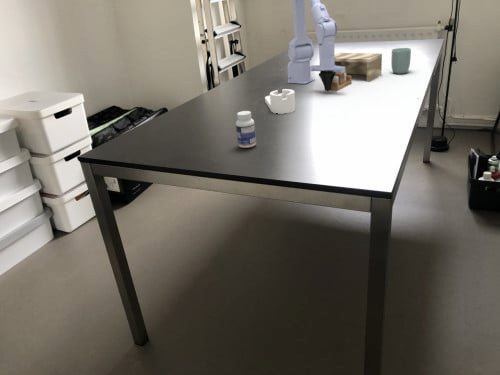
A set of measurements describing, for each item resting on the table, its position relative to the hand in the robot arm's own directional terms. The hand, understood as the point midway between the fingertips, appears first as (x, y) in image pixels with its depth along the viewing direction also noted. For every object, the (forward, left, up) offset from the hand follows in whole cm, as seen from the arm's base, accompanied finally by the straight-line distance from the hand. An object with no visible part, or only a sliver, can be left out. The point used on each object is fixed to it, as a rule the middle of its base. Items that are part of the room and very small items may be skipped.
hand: (327, 90), depth 175 cm
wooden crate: (-2, +26, -1) cm, 26 cm away
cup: (+14, +38, -1) cm, 41 cm away
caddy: (0, +9, -1) cm, 9 cm away
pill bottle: (+7, -60, -1) cm, 60 cm away
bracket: (-7, -22, -1) cm, 23 cm away
